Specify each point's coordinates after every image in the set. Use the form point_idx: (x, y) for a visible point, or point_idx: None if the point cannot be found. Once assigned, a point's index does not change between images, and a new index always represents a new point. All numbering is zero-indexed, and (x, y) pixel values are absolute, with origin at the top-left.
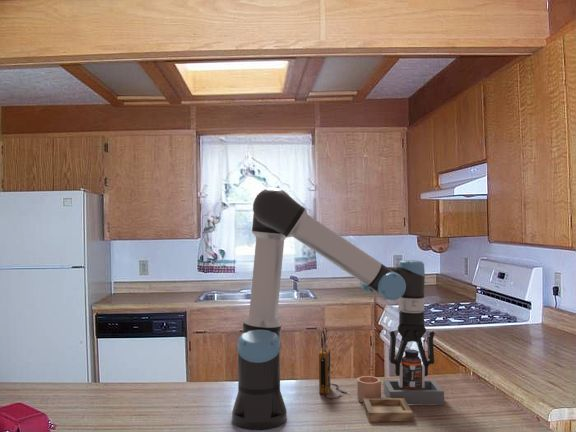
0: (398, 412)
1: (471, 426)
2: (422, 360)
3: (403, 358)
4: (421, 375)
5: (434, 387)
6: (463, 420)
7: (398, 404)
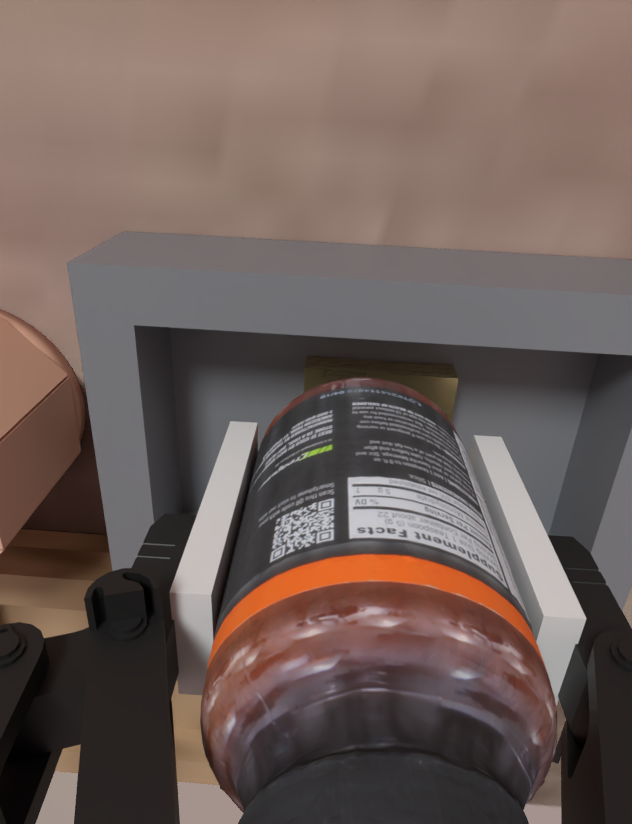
0: None
1: (554, 798)
2: (595, 702)
3: (215, 775)
4: None
5: (598, 502)
6: (556, 746)
7: None
